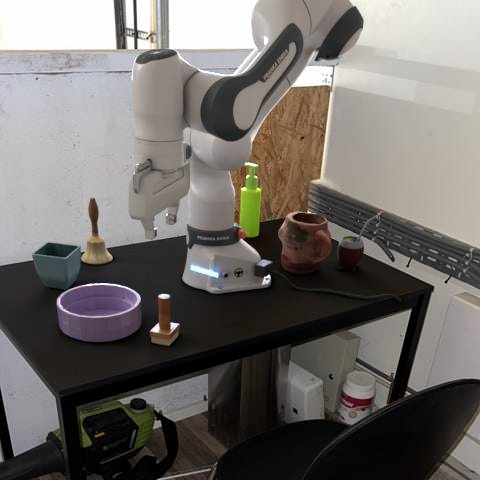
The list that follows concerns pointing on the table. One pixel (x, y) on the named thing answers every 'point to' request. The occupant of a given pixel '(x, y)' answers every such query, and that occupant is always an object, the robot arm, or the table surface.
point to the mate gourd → (351, 250)
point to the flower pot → (57, 264)
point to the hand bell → (95, 240)
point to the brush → (164, 323)
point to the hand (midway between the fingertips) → (161, 230)
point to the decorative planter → (304, 242)
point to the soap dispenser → (250, 203)
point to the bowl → (99, 312)
